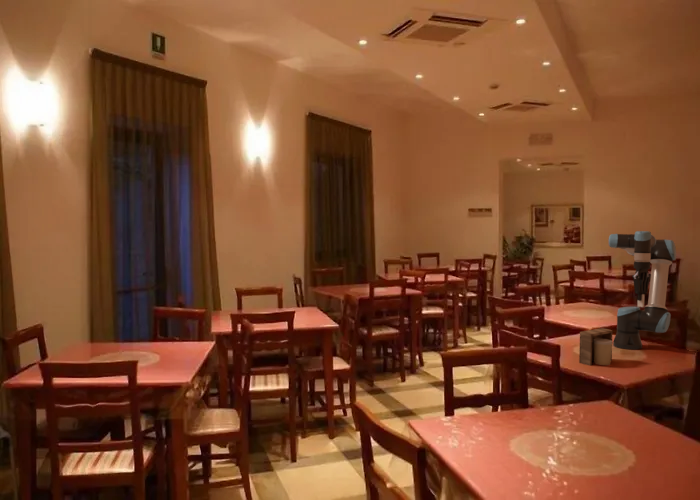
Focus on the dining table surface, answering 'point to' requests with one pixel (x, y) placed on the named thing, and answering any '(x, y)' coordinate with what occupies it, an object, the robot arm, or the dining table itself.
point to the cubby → (591, 343)
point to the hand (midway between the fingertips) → (640, 306)
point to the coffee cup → (602, 351)
